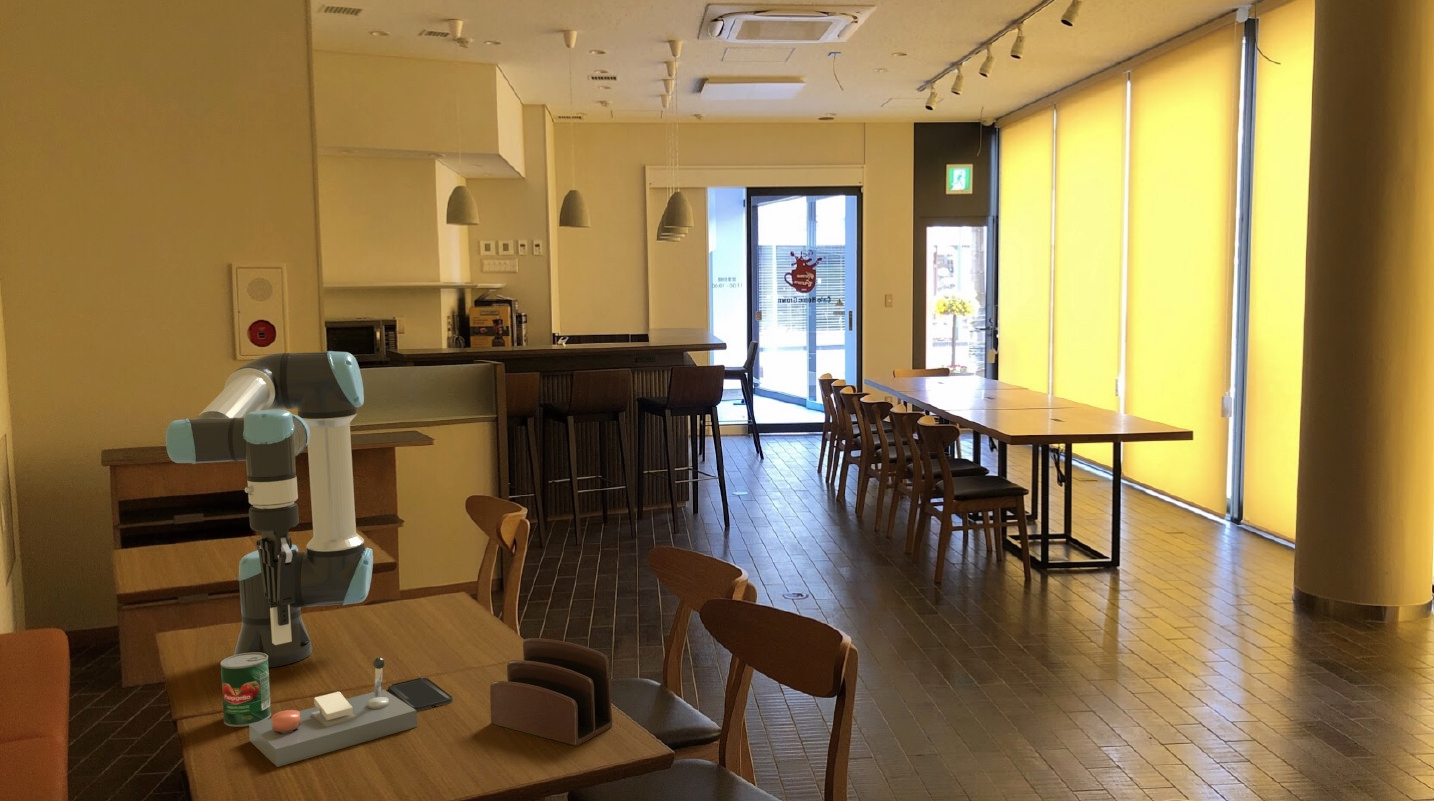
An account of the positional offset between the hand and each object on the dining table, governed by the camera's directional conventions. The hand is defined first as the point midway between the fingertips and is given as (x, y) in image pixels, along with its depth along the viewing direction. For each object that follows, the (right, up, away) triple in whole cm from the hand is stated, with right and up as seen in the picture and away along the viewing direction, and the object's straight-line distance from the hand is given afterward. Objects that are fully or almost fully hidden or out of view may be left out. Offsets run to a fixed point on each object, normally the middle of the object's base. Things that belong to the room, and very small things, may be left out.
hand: (281, 641), depth 179 cm
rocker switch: (+6, -13, +6) cm, 16 cm away
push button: (0, -17, +1) cm, 18 cm away
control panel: (+7, -17, +7) cm, 20 cm away
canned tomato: (-12, -17, +14) cm, 26 cm away
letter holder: (+44, -17, +9) cm, 48 cm away
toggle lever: (+13, -13, +11) cm, 21 cm away
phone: (+16, -16, +24) cm, 33 cm away
